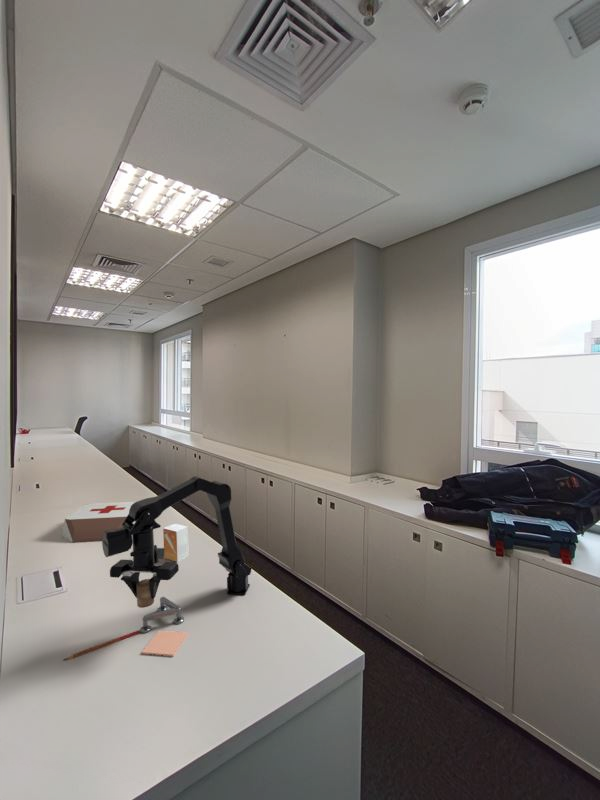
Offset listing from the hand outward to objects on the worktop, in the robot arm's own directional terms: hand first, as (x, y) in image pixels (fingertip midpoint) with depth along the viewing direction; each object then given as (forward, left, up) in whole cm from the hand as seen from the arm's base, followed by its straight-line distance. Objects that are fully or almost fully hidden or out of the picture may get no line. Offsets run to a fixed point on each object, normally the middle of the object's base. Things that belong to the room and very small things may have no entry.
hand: (145, 597), depth 110 cm
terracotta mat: (-8, +5, -10) cm, 14 cm away
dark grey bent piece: (-3, -5, -10) cm, 12 cm away
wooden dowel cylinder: (0, 0, -2) cm, 2 cm away
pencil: (+9, +7, -10) cm, 16 cm away
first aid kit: (+65, -75, -11) cm, 100 cm away
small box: (+14, -46, -10) cm, 49 cm away
